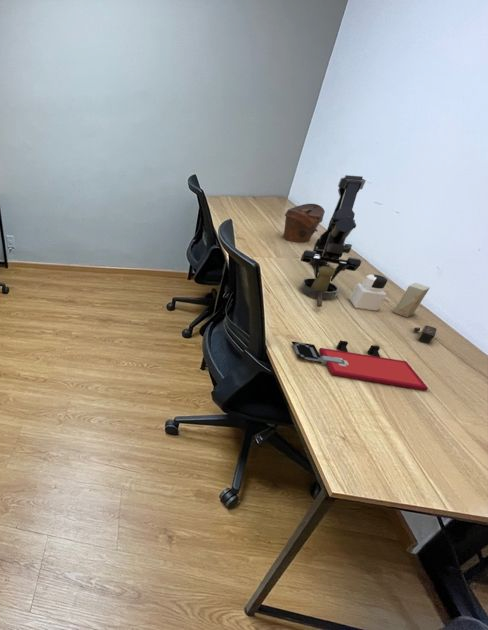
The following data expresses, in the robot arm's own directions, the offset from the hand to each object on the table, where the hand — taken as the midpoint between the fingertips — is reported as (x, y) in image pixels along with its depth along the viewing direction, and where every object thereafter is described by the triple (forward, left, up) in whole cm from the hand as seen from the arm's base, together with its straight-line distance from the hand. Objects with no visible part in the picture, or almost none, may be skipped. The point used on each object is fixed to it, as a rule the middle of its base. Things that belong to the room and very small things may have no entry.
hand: (323, 279), depth 133 cm
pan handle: (+7, +7, -5) cm, 12 cm away
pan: (-1, -1, -7) cm, 7 cm away
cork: (-1, -1, -6) cm, 7 cm away
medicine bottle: (-10, +11, -7) cm, 16 cm away
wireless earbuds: (-10, +32, -7) cm, 34 cm away
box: (-19, +19, -7) cm, 28 cm away
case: (-41, -57, -7) cm, 71 cm away
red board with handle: (+25, +38, -7) cm, 46 cm away
